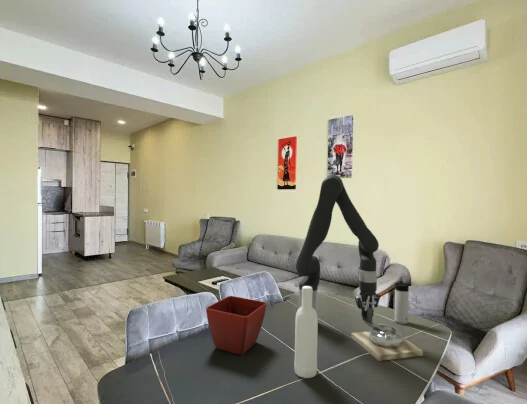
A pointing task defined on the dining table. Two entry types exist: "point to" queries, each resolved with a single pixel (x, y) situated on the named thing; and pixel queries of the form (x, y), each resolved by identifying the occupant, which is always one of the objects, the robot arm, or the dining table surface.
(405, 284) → the travel mug
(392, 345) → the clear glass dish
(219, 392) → the dining table surface
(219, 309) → the plant pot
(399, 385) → the dining table surface
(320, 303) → the dining table surface
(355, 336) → the base plate
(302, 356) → the bottle
